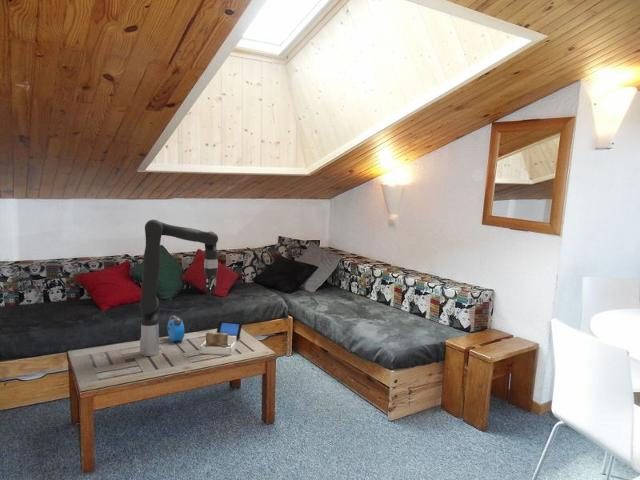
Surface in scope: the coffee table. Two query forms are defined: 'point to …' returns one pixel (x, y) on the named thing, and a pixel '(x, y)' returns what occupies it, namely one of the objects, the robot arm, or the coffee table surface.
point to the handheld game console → (230, 329)
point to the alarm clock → (175, 329)
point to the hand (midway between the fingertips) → (210, 294)
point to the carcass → (220, 350)
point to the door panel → (217, 339)
